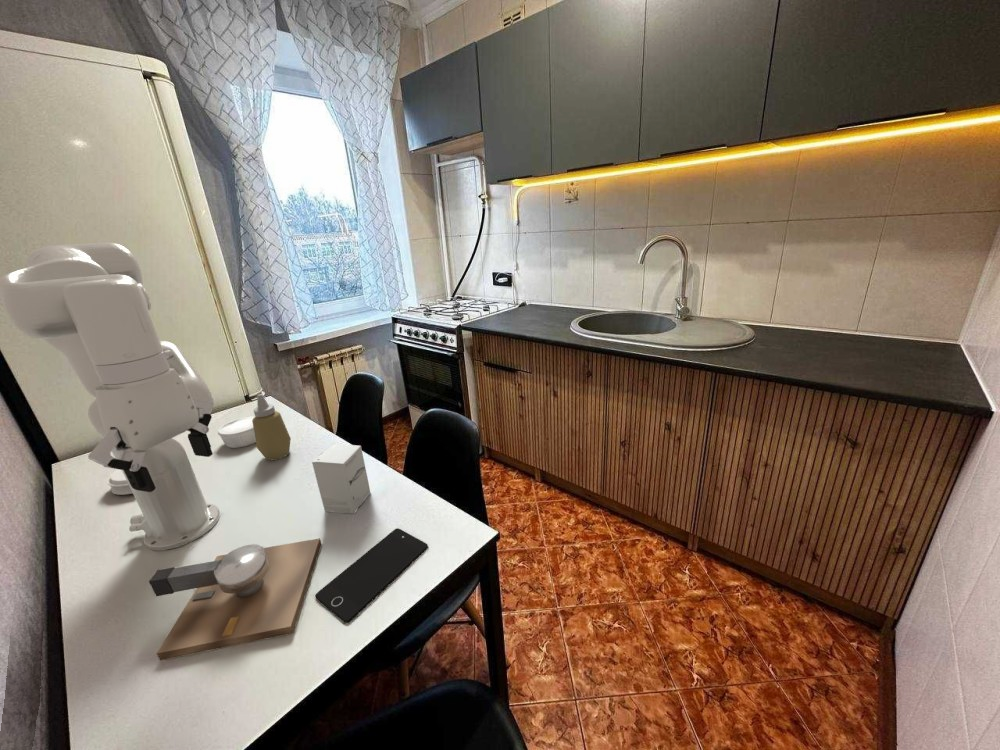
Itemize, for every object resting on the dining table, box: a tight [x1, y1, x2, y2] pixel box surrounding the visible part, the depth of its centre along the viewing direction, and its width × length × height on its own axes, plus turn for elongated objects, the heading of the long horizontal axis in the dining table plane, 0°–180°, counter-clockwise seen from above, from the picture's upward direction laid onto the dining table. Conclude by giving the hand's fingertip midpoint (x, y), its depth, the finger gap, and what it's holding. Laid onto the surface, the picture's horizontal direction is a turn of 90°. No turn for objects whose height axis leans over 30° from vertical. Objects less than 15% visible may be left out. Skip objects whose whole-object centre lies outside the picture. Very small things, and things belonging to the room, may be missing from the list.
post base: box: [156, 537, 322, 661], centre depth 65 cm, size 18×18×4 cm
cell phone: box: [314, 527, 429, 624], centre depth 69 cm, size 9×18×1 cm, turn 146°
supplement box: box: [311, 443, 371, 515], centre depth 85 cm, size 7×7×13 cm
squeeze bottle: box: [252, 393, 292, 461], centre depth 104 cm, size 8×8×18 cm
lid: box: [106, 469, 133, 496], centre depth 98 cm, size 13×13×5 cm
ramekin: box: [217, 416, 256, 449], centre depth 115 cm, size 11×11×5 cm
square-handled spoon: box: [148, 543, 269, 597], centre depth 63 cm, size 16×7×3 cm, turn 101°
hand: (177, 471), depth 62 cm, fingers open, 8 cm apart
